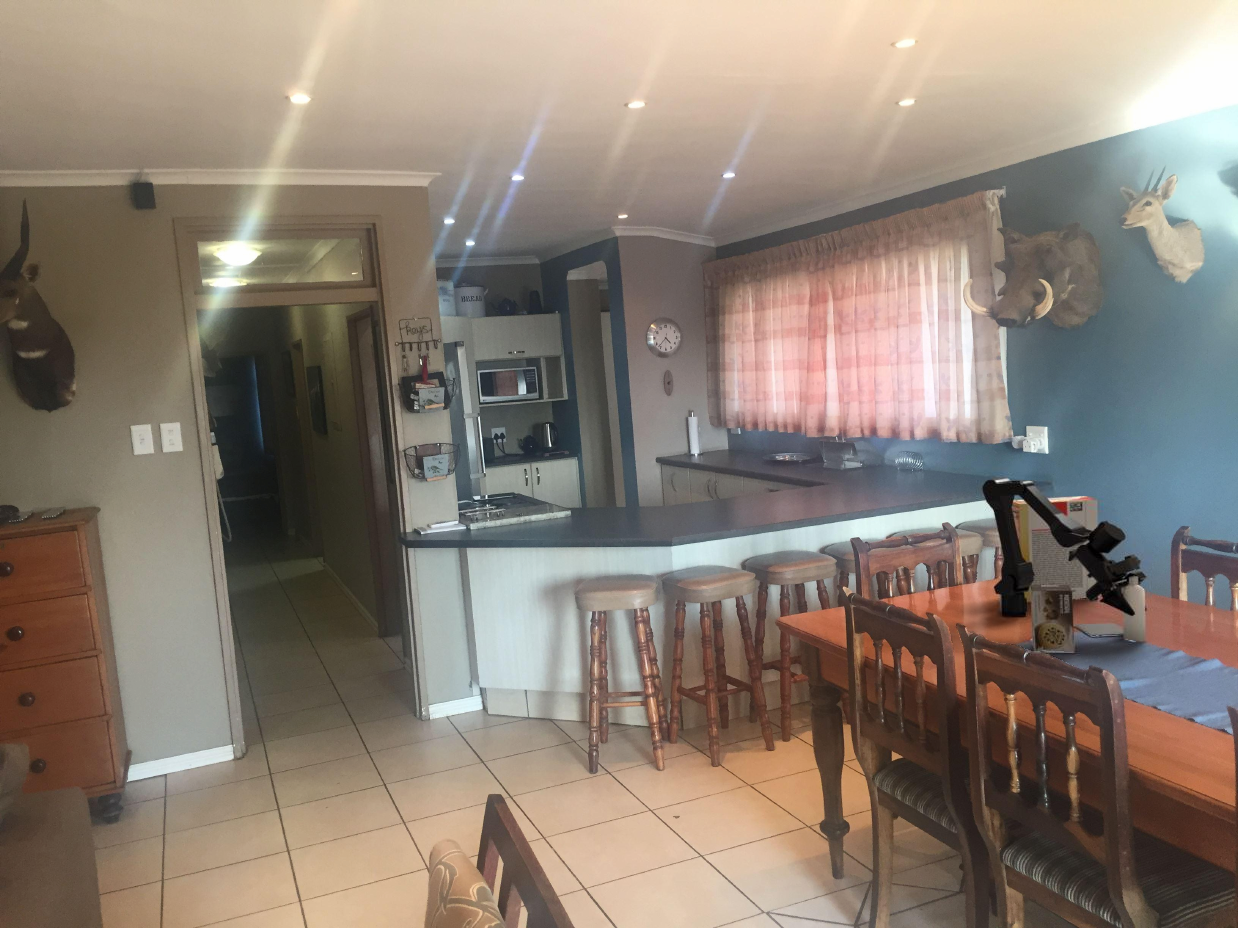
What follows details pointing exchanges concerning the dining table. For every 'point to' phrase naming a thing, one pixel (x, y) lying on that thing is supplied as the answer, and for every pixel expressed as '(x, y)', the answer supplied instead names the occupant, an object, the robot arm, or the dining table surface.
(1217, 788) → the dining table surface
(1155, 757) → the dining table surface
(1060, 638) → the cookie box
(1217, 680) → the dining table surface
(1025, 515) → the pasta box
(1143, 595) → the white bottle
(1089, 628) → the coaster
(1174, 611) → the dining table surface
